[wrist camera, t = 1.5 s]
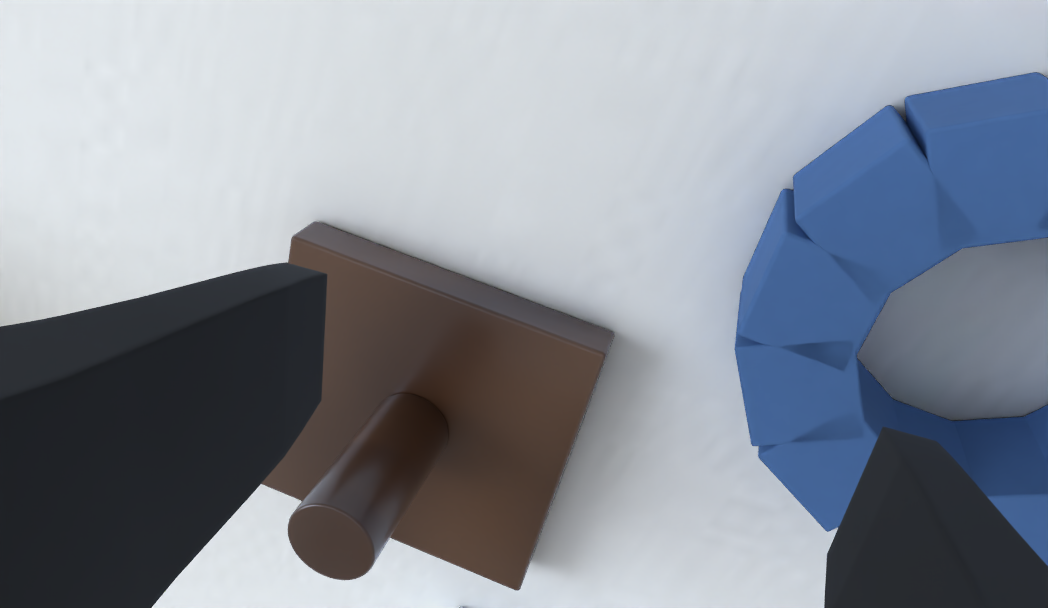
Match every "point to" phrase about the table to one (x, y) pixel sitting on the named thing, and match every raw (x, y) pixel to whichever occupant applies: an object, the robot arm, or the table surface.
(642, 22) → the table surface
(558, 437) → the peg stand
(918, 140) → the ring
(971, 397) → the table surface
